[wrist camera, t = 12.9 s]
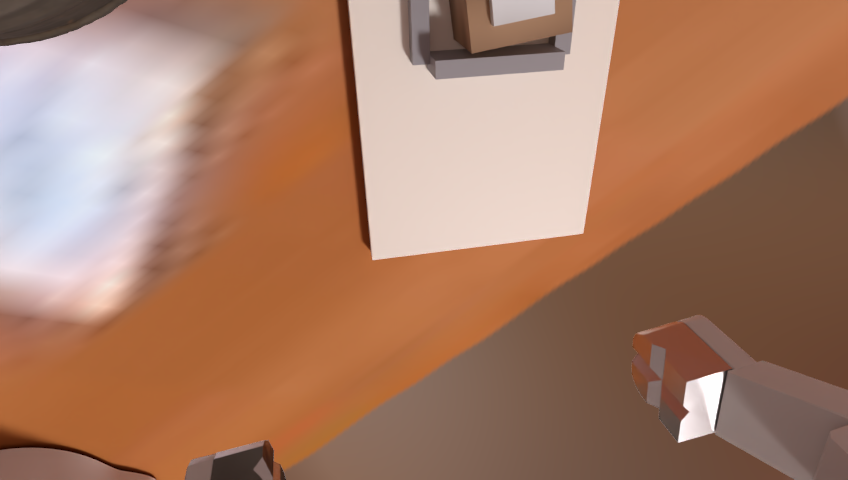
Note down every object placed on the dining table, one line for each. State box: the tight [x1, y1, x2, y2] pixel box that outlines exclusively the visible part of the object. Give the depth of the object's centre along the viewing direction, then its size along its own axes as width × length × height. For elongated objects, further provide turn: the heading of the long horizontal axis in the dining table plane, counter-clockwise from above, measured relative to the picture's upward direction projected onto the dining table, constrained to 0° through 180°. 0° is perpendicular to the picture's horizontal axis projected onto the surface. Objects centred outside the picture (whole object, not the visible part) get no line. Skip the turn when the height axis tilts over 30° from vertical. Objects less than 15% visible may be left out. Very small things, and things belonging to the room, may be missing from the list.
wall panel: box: [347, 0, 620, 260], centre depth 30 cm, size 30×16×4 cm, turn 1°
